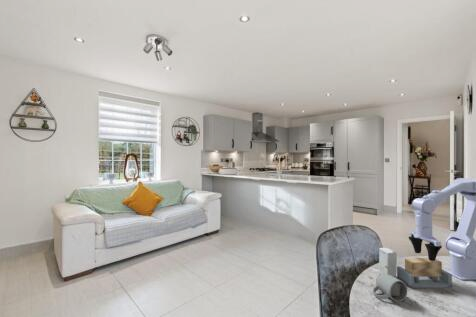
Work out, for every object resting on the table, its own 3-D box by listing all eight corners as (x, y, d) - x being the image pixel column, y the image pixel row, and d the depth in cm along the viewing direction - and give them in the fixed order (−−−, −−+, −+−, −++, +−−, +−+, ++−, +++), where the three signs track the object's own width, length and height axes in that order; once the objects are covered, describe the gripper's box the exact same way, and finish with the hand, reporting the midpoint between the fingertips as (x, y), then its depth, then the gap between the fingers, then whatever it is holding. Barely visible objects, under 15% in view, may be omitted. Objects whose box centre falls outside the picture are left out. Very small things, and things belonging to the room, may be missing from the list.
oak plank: (412, 276, 96) (411, 262, 96) (405, 272, 100) (404, 258, 100) (441, 276, 96) (441, 262, 96) (433, 271, 100) (433, 257, 100)
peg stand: (435, 277, 102) (435, 265, 102) (452, 287, 94) (451, 275, 94) (397, 277, 102) (396, 266, 102) (410, 287, 94) (410, 275, 94)
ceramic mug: (390, 288, 94) (389, 269, 94) (408, 300, 86) (407, 280, 86) (367, 292, 92) (366, 273, 92) (384, 304, 84) (383, 284, 84)
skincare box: (378, 273, 106) (377, 247, 106) (387, 273, 106) (387, 247, 106) (387, 280, 100) (387, 252, 100) (397, 280, 100) (397, 252, 100)
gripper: (402, 221, 108) (403, 250, 108) (428, 231, 94) (429, 264, 94) (417, 221, 108) (418, 249, 108) (445, 230, 94) (446, 263, 94)
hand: (424, 256), depth 101 cm, fingers open, 7 cm apart
